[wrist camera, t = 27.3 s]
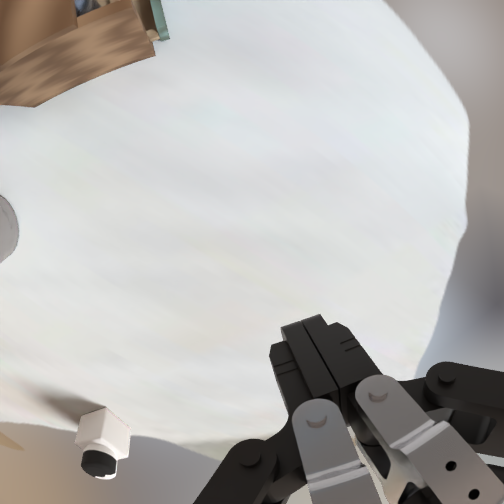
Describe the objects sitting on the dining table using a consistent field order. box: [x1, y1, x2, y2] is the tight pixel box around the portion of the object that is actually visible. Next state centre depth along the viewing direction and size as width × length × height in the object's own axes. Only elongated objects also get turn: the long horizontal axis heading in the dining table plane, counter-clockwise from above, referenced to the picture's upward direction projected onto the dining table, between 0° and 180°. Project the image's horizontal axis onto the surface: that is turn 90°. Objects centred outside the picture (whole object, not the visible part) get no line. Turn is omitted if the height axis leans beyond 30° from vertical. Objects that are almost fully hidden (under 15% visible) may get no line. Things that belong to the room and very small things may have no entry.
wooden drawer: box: [97, 0, 170, 42], centre depth 22 cm, size 17×11×5 cm, turn 104°
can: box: [74, 0, 101, 17], centre depth 17 cm, size 5×5×12 cm
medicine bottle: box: [75, 408, 131, 479], centre depth 41 cm, size 7×7×12 cm
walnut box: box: [0, 0, 156, 107], centre depth 18 cm, size 16×14×16 cm
